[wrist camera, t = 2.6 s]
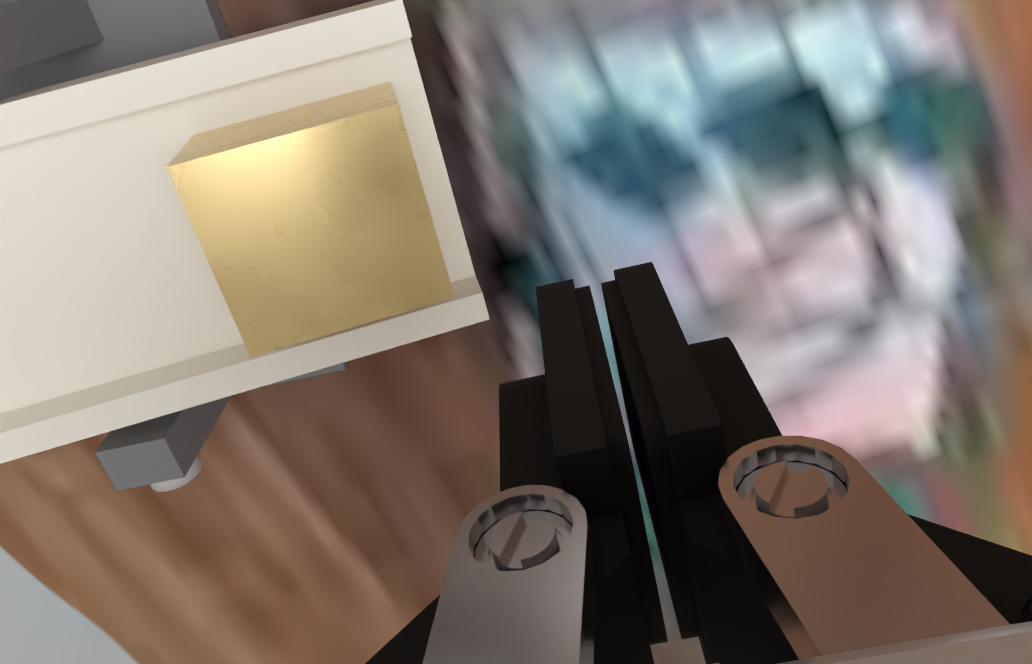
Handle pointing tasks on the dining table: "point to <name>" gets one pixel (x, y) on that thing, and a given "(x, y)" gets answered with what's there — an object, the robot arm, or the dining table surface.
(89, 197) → the beam
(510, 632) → the robot arm
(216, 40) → the balance stand
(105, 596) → the dining table surface
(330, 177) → the block
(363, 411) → the dining table surface
